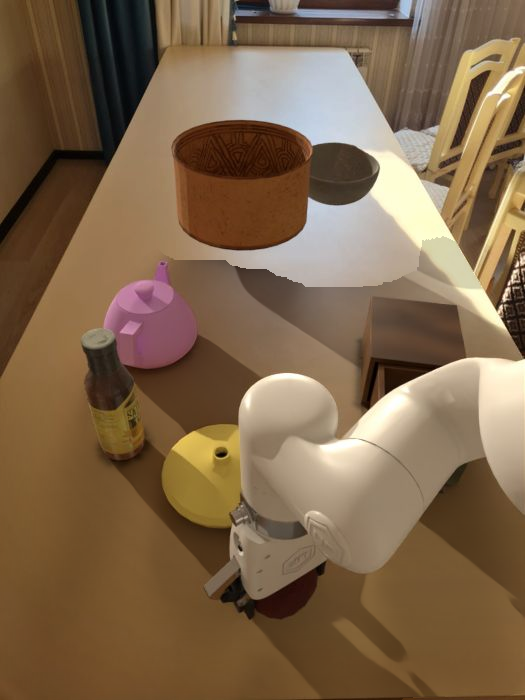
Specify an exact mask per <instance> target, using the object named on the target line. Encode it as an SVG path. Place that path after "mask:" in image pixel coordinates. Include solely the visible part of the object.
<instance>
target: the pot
mask: <svg viewBox="0 0 525 700" xmlns="http://www.w3.org/2000/svg"><path fill="white" fill-rule="evenodd" d="M312 146H313V144H312V142H311V140H309V138H308V137H307V136H306V135H304V134H303V133H301V132H300V131H298V130H296V129H293V128H291V127H288V126H286V125H283V124H279V123H274V122H271V121H270V122H269V121H262V120H254V119H252V120H251V119H227V120H219V121H211V122H207V123H202V124H200V125H196V126H193V127H190V128H188V129H186V130H184V131H183V132H181V133H179V134H178V135H177V136H176V137H175V138H174V139H173V141H172V144H171V147H170V149H171V154H172V159H173V169H174V183H175V184H174V185H175V201H176V214H177V221H178V225H179V226H180V228H181V229H182V231H183V232H184V233H185V234H187V236H188V237H190V238H192V239H193V240H195V241H197V242H198V243H201V244H204V245H206V246H209V247H212V248H215V249H216V248H217V249H221V250H227V251H237V252H238V251H241V252H242V251H259V250H265V249H269V248H274V247H277V246H280V245H283V244H285V243H287V242H289V241H291V240H292V239H294V238H296V237H297V236H299V235H300V234H301V232H302V231H303V230H304V228H305V226H306V224H307V220H308V219H307V218H308V208H309V197H308V191H309V173H310V162H311V158H312V151H313V147H312Z"/></svg>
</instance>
